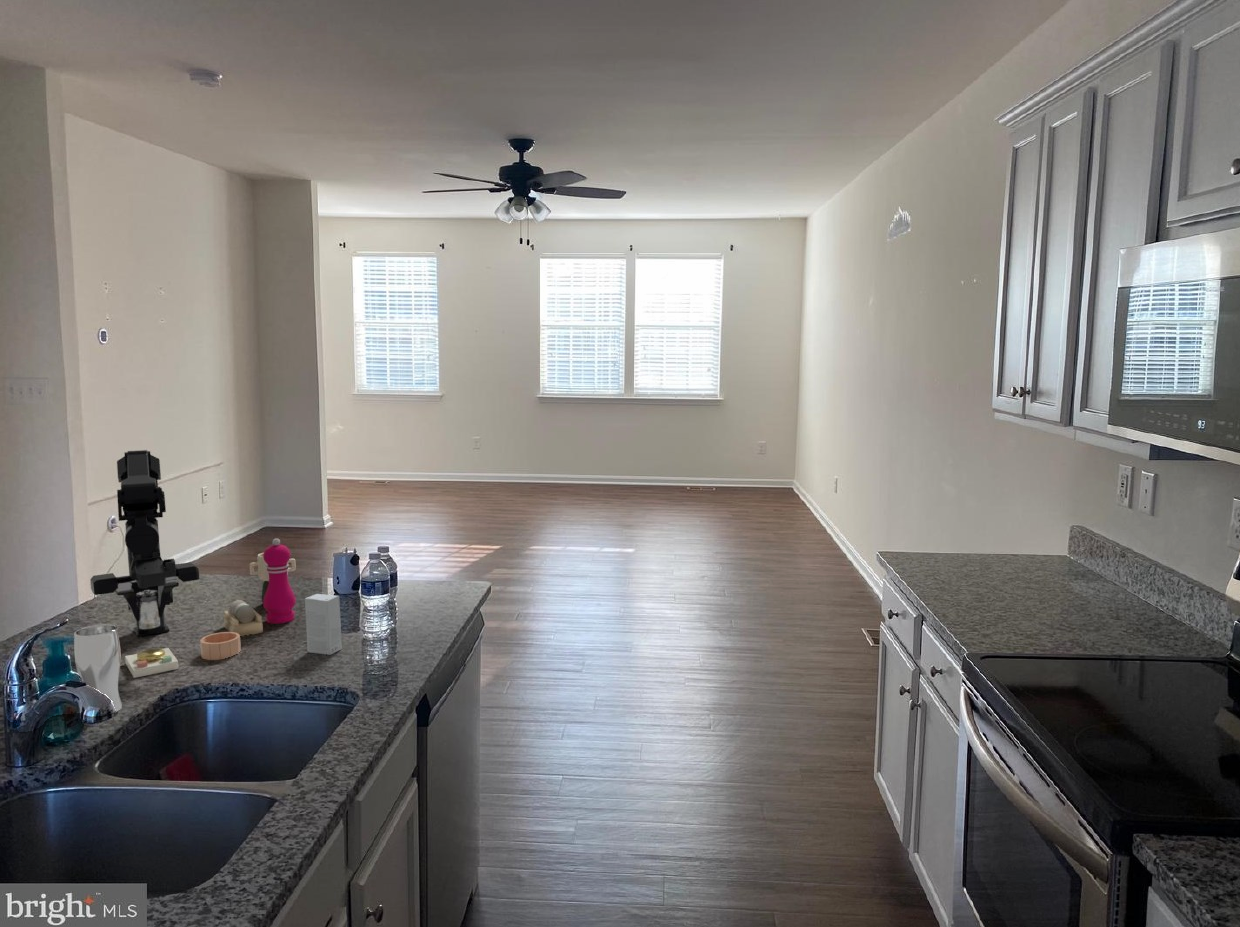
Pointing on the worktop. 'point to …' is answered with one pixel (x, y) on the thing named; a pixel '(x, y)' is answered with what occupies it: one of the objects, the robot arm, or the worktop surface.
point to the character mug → (263, 573)
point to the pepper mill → (278, 585)
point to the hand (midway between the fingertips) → (149, 619)
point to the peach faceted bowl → (220, 645)
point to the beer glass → (99, 659)
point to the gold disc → (151, 655)
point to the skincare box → (323, 624)
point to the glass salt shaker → (148, 609)
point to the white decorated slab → (151, 664)
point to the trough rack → (242, 619)
